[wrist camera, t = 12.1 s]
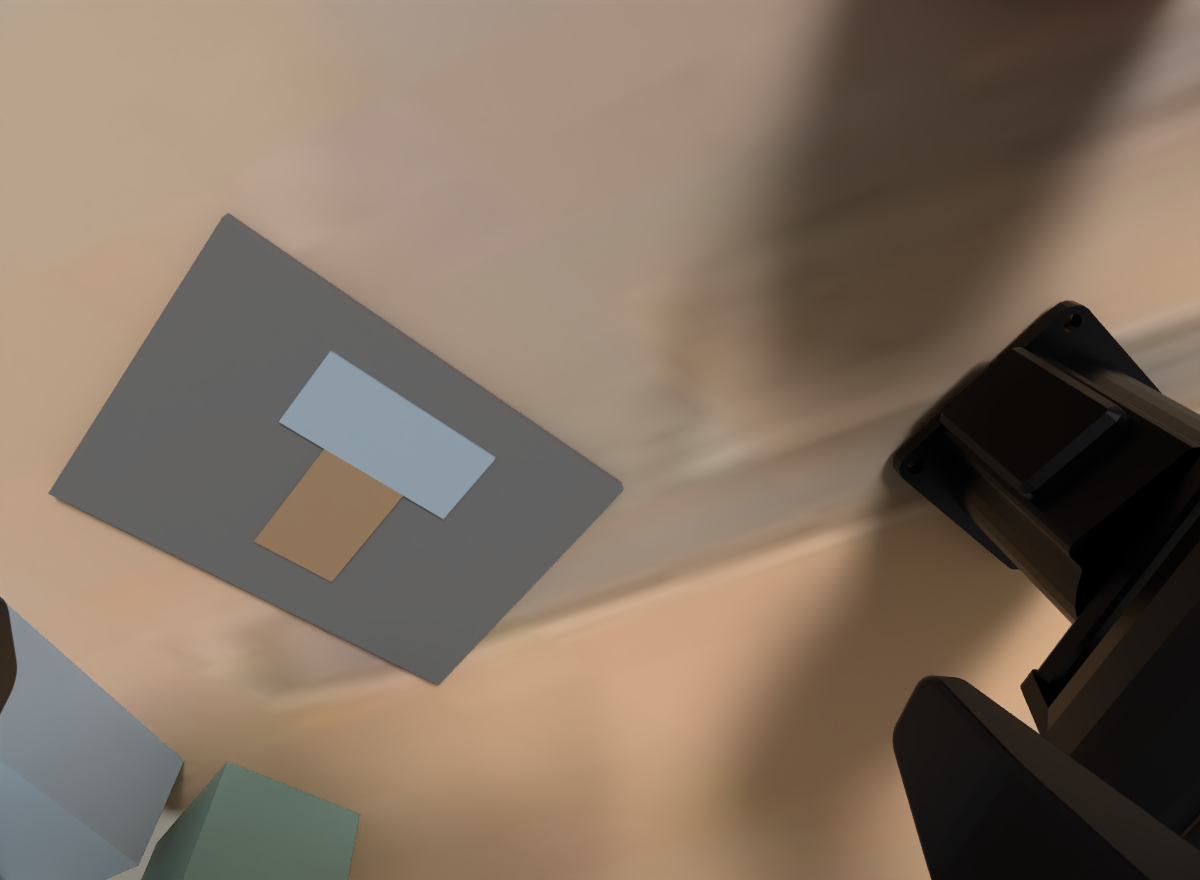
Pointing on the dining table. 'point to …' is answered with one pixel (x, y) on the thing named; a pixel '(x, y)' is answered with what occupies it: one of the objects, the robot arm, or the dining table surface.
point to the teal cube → (255, 834)
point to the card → (329, 462)
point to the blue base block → (73, 772)
